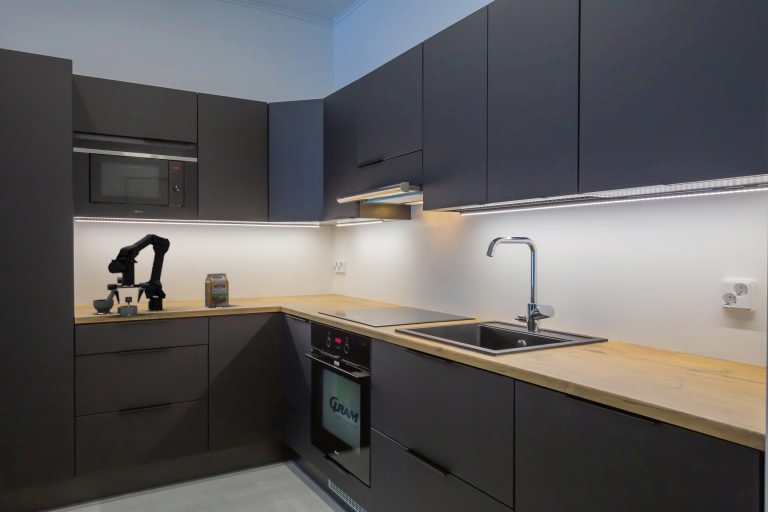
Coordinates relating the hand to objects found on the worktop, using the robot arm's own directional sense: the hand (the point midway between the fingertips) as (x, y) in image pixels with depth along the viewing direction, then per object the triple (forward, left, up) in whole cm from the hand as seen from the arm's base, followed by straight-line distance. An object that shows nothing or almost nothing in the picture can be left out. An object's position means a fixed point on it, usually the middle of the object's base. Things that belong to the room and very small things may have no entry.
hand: (128, 303), depth 261 cm
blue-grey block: (0, 0, -6) cm, 6 cm away
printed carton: (-47, -11, -6) cm, 49 cm away
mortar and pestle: (+9, -13, -6) cm, 17 cm away
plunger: (0, 0, -5) cm, 5 cm away
